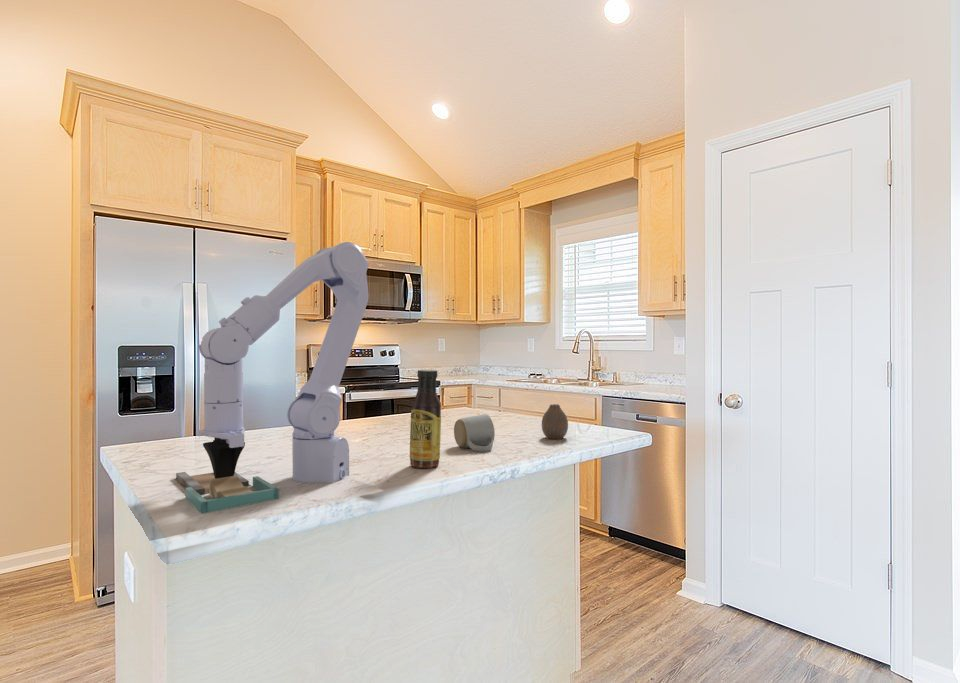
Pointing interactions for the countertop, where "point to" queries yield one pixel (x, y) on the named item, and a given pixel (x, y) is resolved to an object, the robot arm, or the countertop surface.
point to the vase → (554, 422)
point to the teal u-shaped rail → (234, 497)
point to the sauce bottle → (425, 423)
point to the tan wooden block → (234, 491)
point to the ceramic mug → (475, 433)
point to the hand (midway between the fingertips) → (224, 485)
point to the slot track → (201, 481)
